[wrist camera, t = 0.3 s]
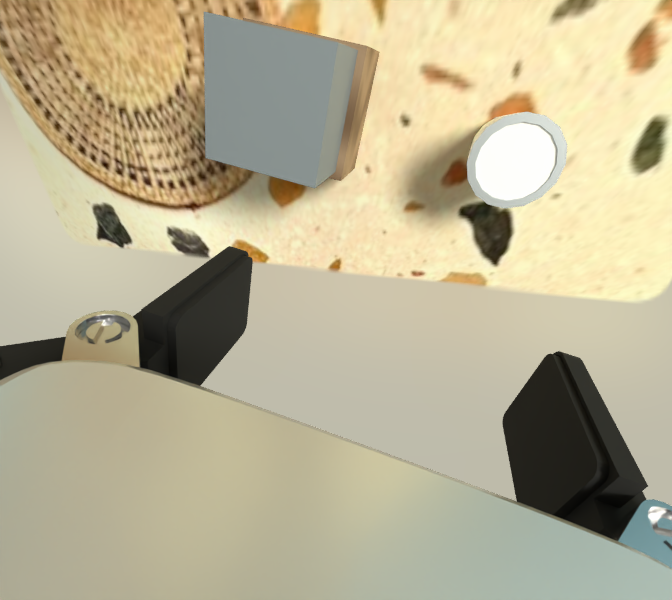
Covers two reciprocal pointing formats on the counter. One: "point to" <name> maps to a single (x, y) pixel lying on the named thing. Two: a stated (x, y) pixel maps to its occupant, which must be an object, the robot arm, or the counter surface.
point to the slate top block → (275, 99)
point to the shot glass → (516, 159)
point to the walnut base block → (350, 101)
